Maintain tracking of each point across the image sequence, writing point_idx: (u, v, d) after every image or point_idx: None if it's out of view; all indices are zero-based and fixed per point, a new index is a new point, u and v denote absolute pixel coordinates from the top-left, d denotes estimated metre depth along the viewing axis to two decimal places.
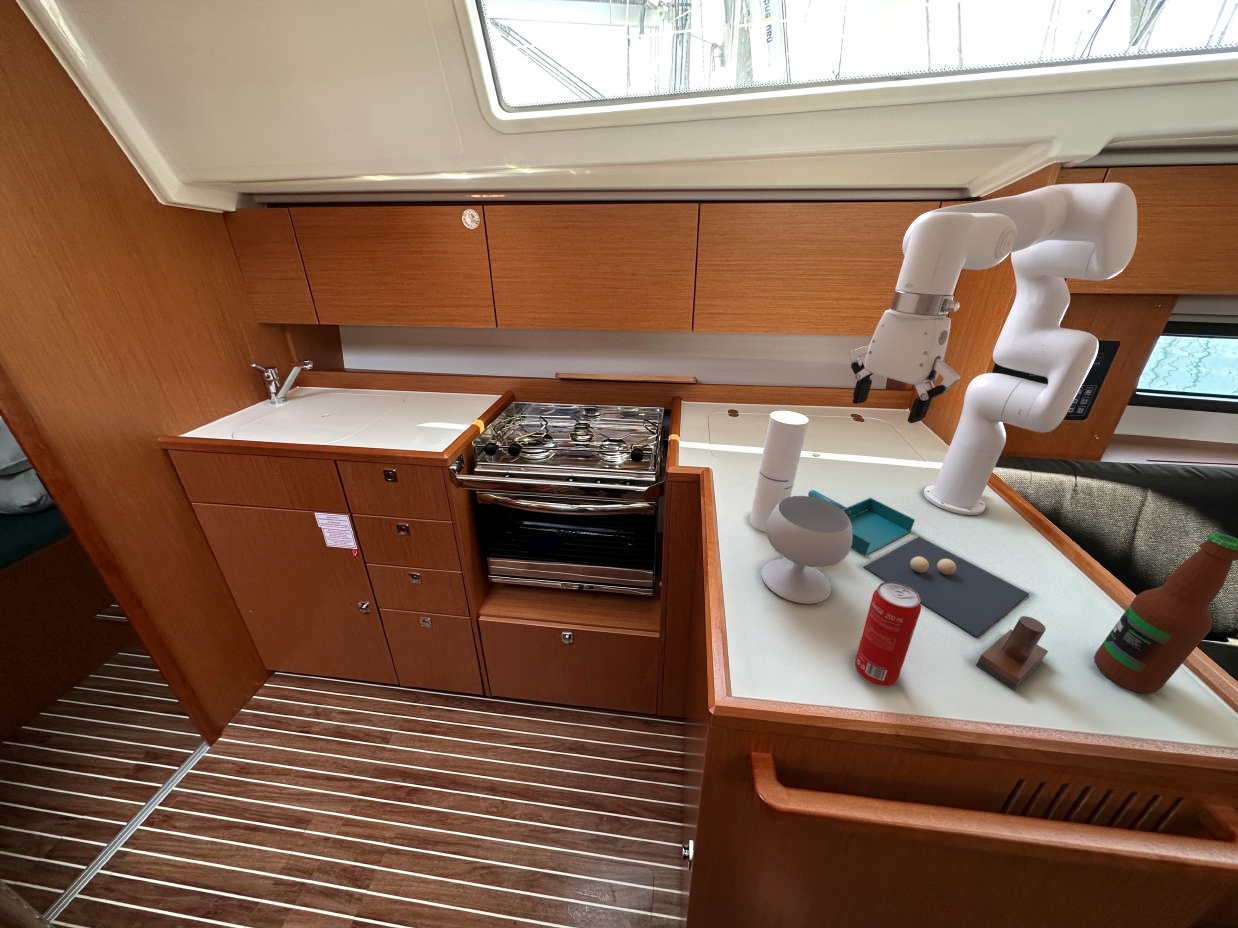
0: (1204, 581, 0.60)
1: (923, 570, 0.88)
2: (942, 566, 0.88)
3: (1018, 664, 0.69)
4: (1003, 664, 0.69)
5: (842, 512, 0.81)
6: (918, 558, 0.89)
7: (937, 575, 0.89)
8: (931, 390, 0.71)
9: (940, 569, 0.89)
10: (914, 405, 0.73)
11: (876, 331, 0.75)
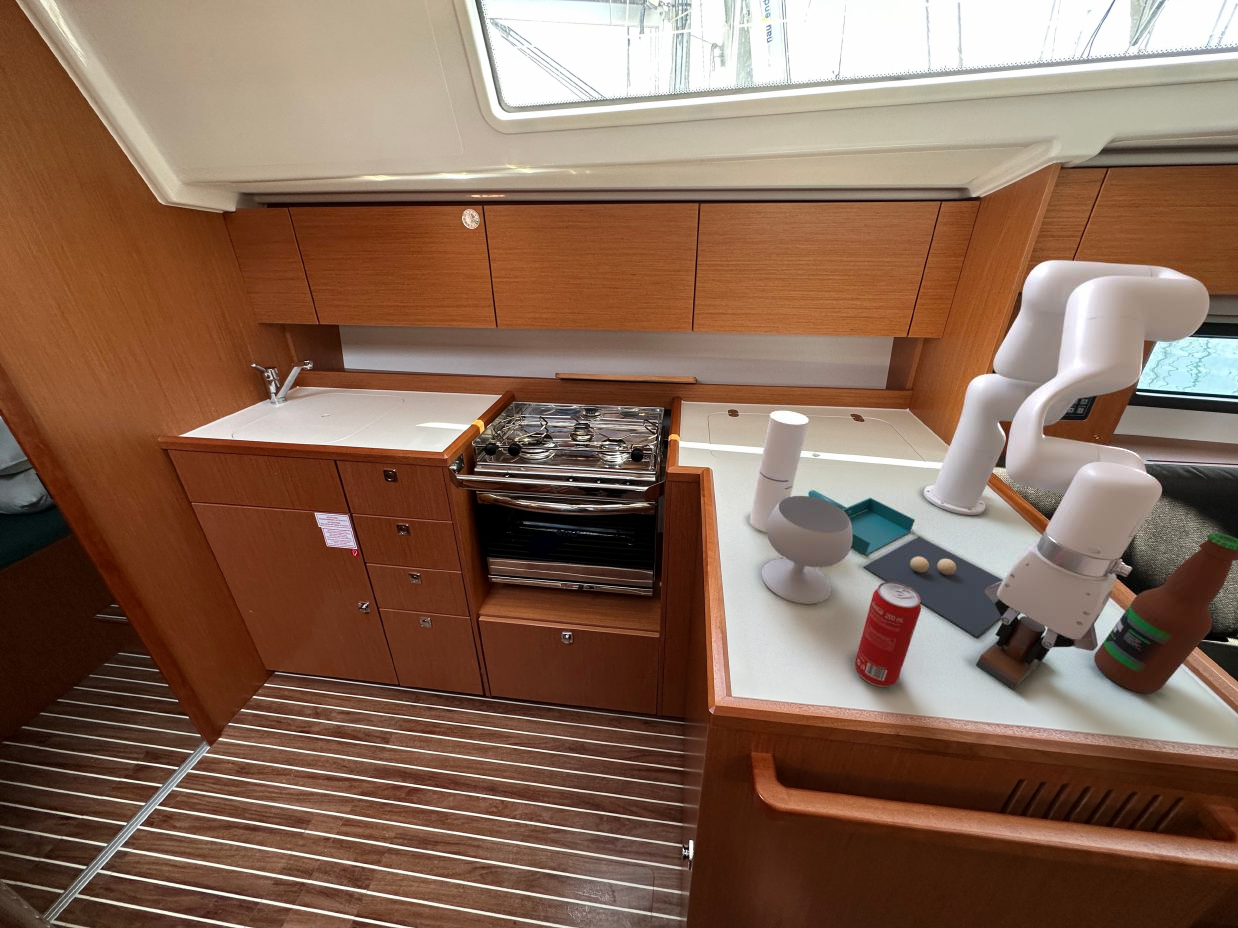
0: (1204, 581, 0.60)
1: (923, 570, 0.88)
2: (942, 566, 0.88)
3: (1018, 664, 0.69)
4: (1003, 664, 0.69)
5: (842, 512, 0.81)
6: (918, 558, 0.89)
7: (937, 575, 0.89)
8: (1059, 644, 0.65)
9: (940, 569, 0.89)
10: (1034, 649, 0.67)
11: (1017, 567, 0.66)
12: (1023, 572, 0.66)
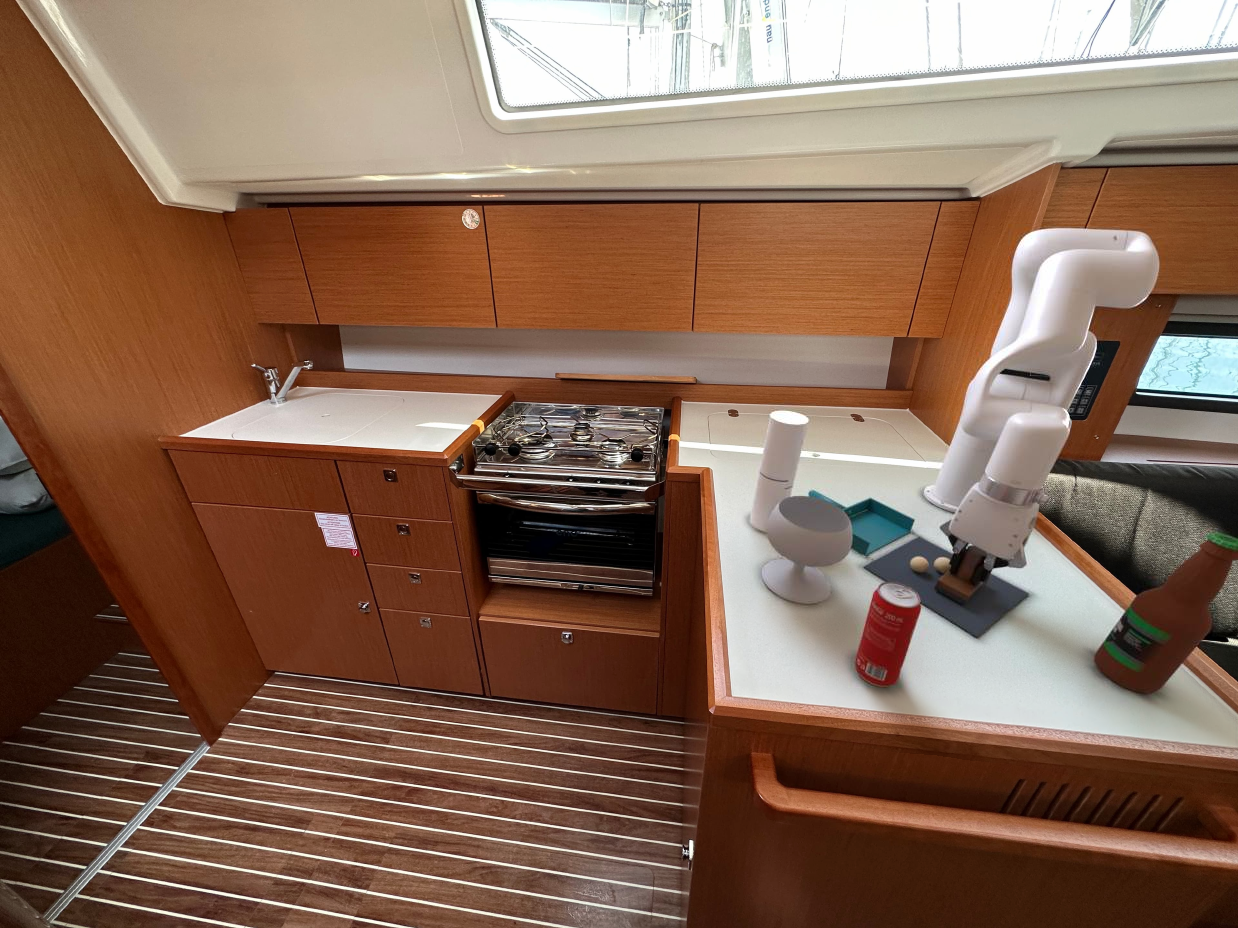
0: (1204, 581, 0.60)
1: (923, 570, 0.88)
2: (938, 565, 0.89)
3: (967, 585, 0.83)
4: (955, 585, 0.83)
5: (842, 512, 0.81)
6: (918, 558, 0.89)
7: (937, 575, 0.89)
8: (997, 566, 0.79)
9: (938, 569, 0.89)
10: (978, 572, 0.81)
11: (963, 503, 0.81)
12: (968, 507, 0.80)
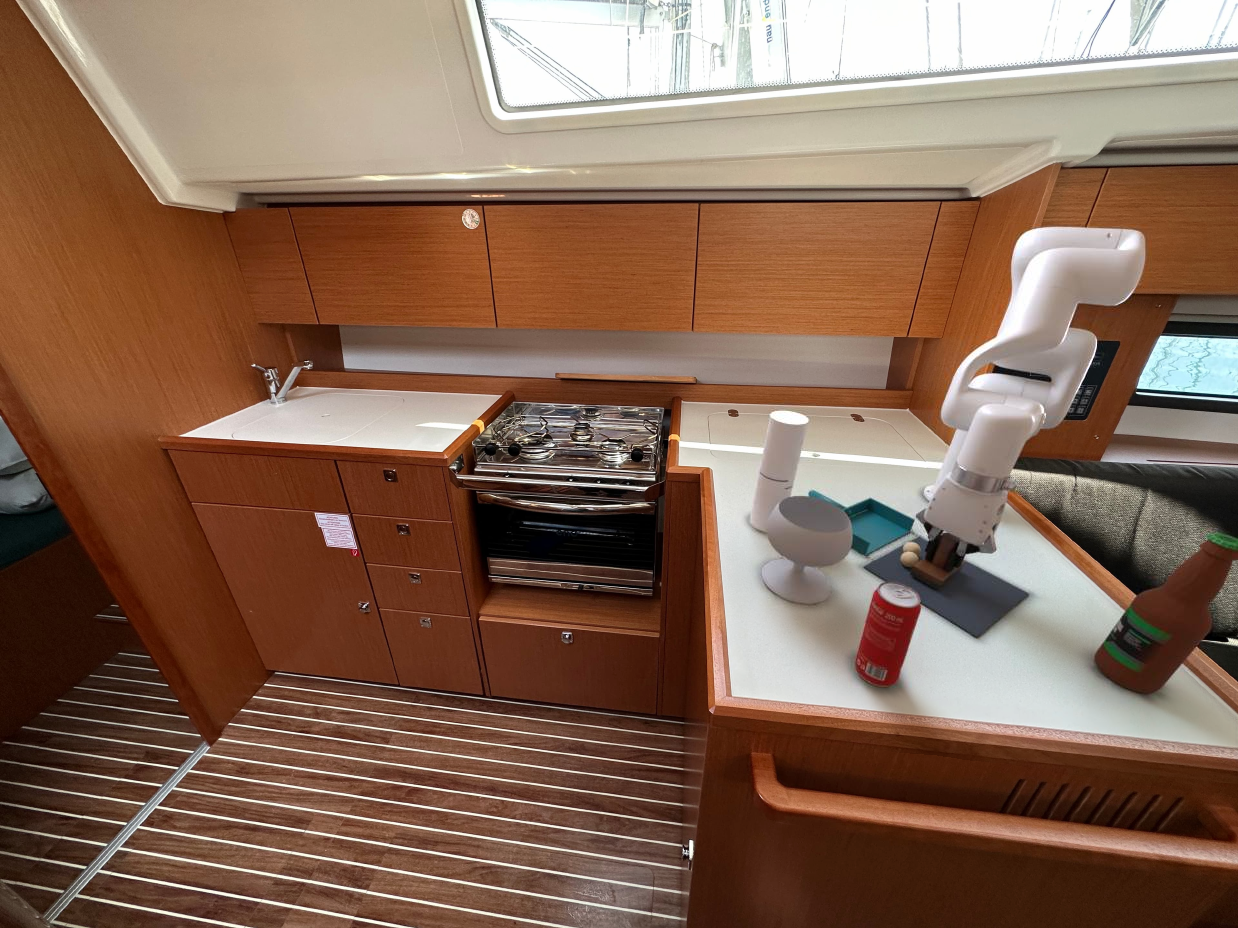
0: (1204, 581, 0.60)
1: (912, 558, 0.89)
2: None
3: (941, 571, 0.86)
4: (930, 571, 0.86)
5: (842, 512, 0.81)
6: (901, 556, 0.91)
7: None
8: (969, 552, 0.83)
9: (908, 549, 0.93)
10: (951, 558, 0.85)
11: (937, 492, 0.84)
12: (941, 495, 0.83)
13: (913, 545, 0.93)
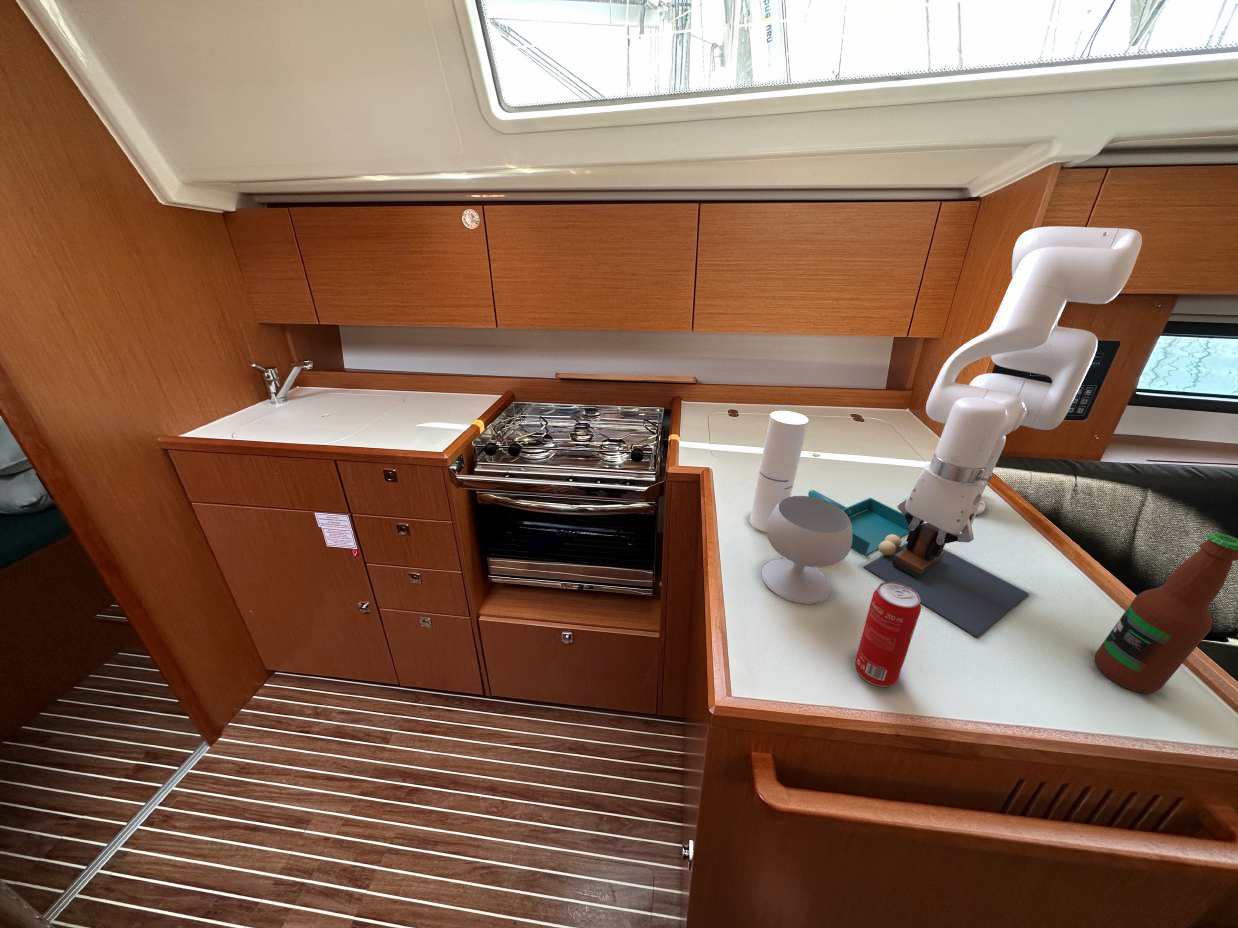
0: (1204, 581, 0.60)
1: (879, 550, 0.94)
2: None
3: (922, 560, 0.89)
4: (911, 560, 0.89)
5: (842, 512, 0.81)
6: (892, 554, 0.93)
7: (937, 575, 0.89)
8: (948, 541, 0.85)
9: None
10: (931, 547, 0.87)
11: (917, 483, 0.87)
12: (921, 486, 0.86)
13: None
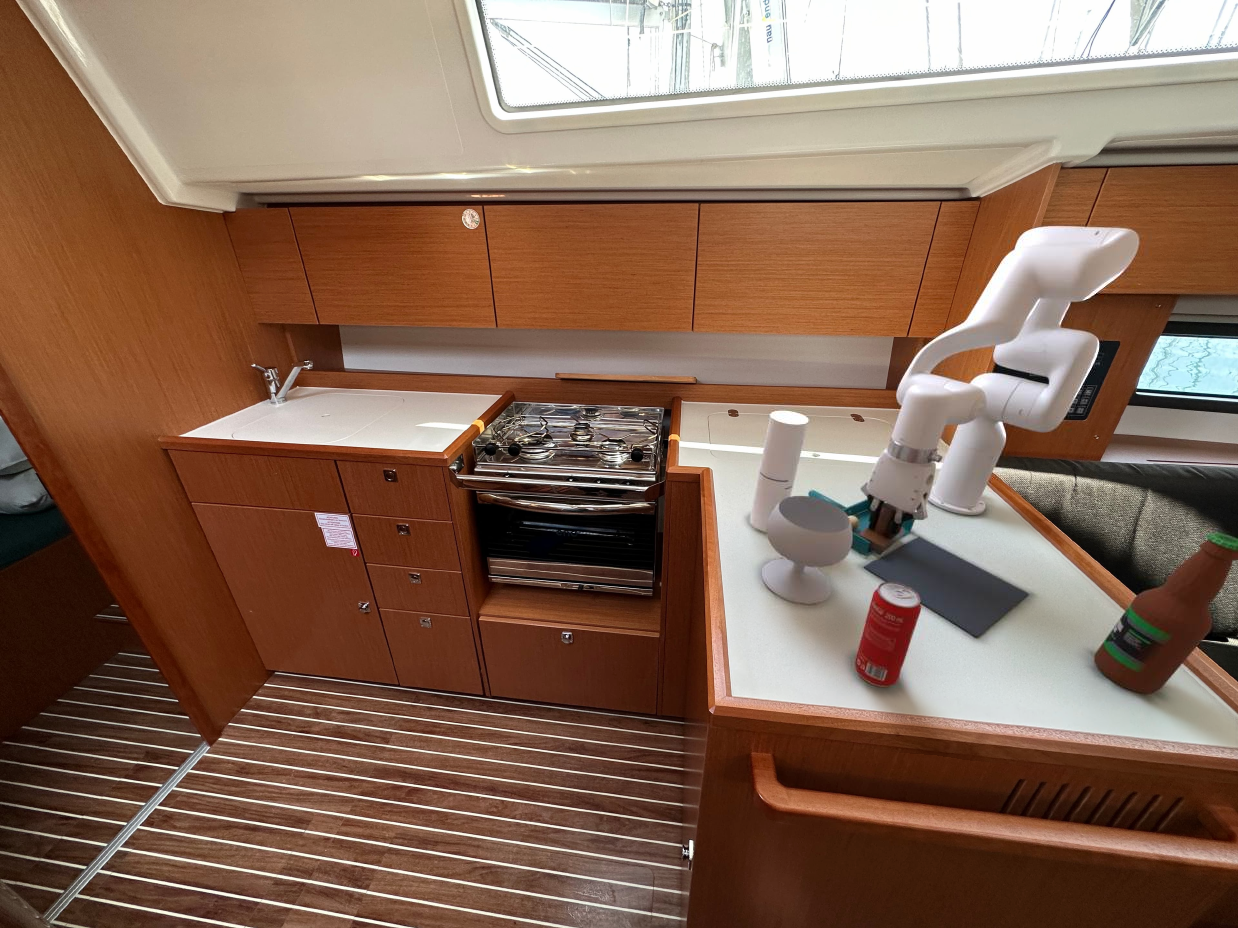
0: (1204, 581, 0.60)
1: None
2: None
3: (883, 537, 0.95)
4: (873, 538, 0.94)
5: (842, 512, 0.81)
6: None
7: (937, 575, 0.89)
8: (904, 519, 0.91)
9: None
10: (890, 525, 0.93)
11: (876, 465, 0.92)
12: (879, 468, 0.92)
13: None
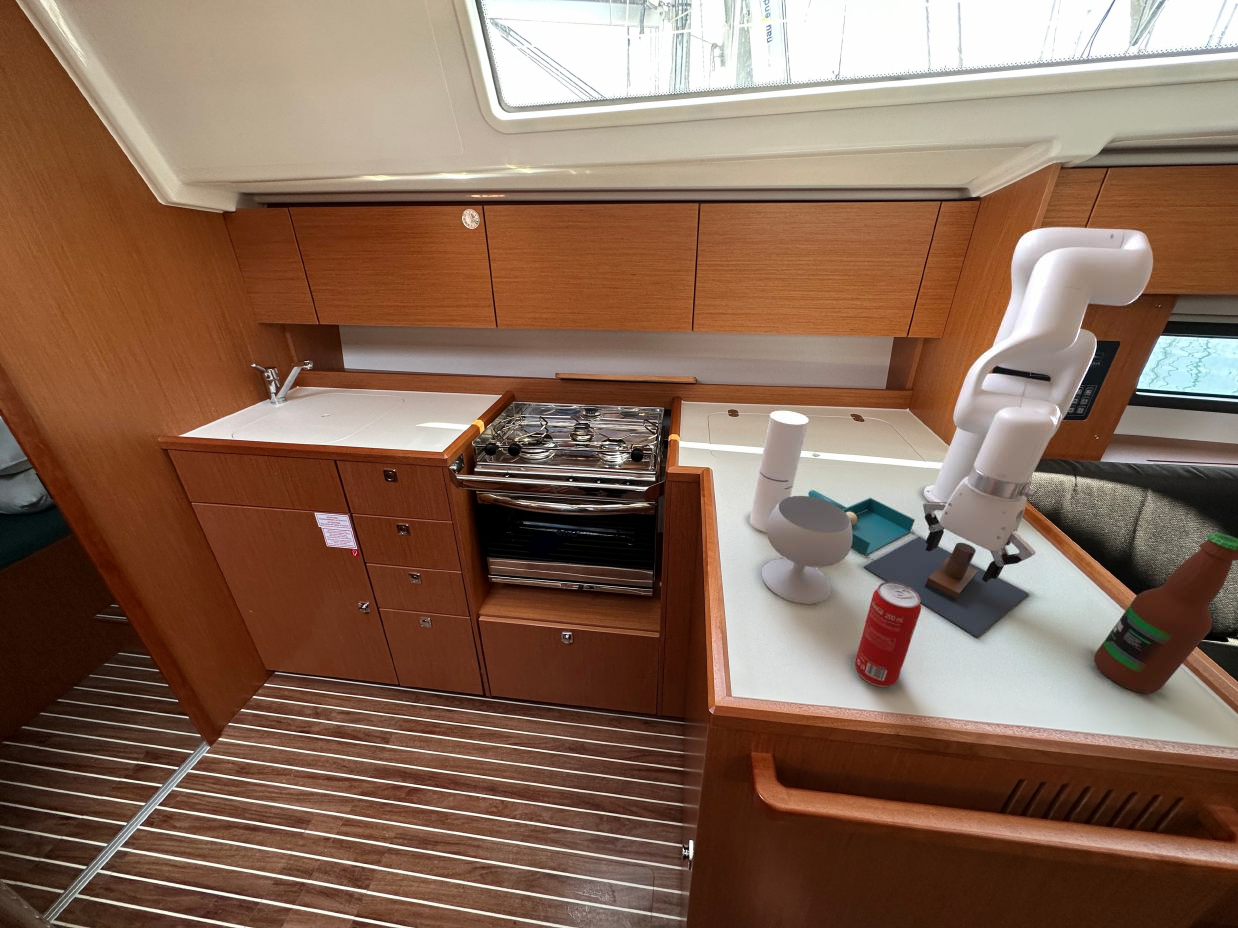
0: (1204, 581, 0.60)
1: None
2: None
3: (957, 582, 0.84)
4: (945, 583, 0.84)
5: (842, 512, 0.81)
6: None
7: None
8: (1007, 558, 0.78)
9: None
10: (989, 568, 0.80)
11: (953, 496, 0.82)
12: (957, 500, 0.81)
13: None
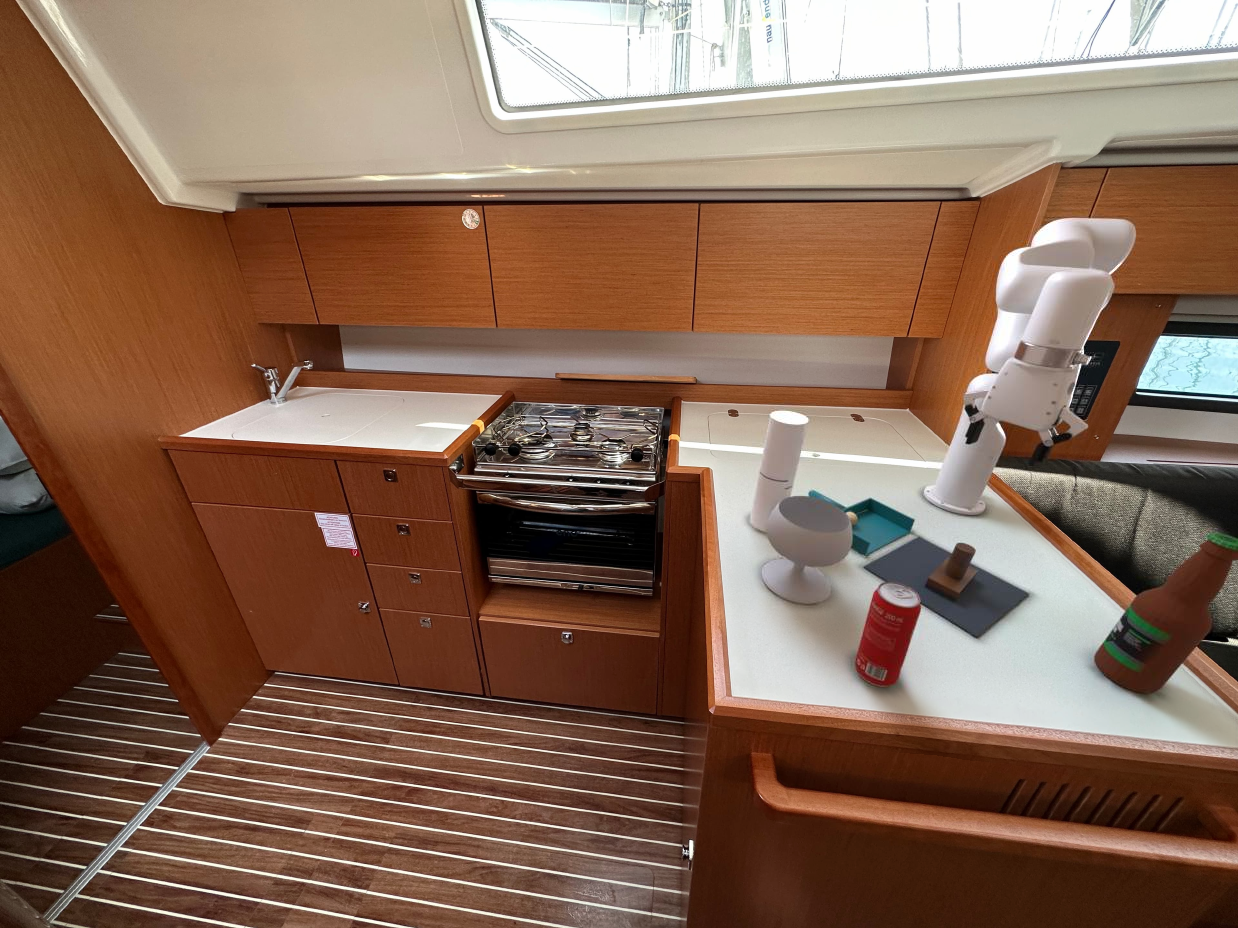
0: (1204, 581, 0.60)
1: None
2: None
3: (957, 582, 0.84)
4: (945, 583, 0.84)
5: (842, 512, 0.81)
6: None
7: None
8: (1056, 437, 0.75)
9: None
10: (1037, 450, 0.76)
11: (997, 378, 0.78)
12: (1002, 381, 0.78)
13: None
